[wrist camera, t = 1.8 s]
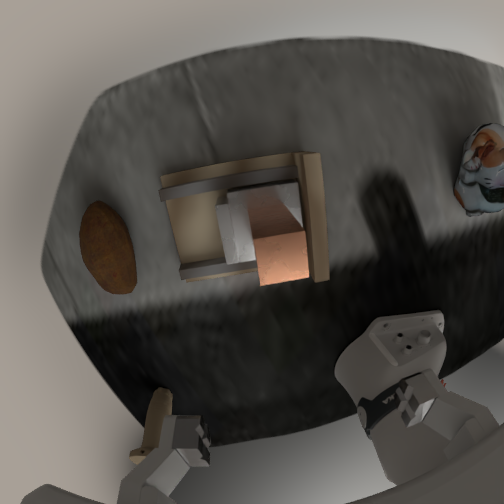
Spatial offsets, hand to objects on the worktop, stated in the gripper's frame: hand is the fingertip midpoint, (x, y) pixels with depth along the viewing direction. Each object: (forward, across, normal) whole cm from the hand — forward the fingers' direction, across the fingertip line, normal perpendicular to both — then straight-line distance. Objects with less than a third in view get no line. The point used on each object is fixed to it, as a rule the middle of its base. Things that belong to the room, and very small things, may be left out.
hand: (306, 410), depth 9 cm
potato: (+25, +18, -1) cm, 30 cm away
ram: (+23, 0, -1) cm, 23 cm away
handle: (+25, +19, +28) cm, 42 cm away
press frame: (+24, +2, -1) cm, 25 cm away
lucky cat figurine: (+25, -34, -6) cm, 42 cm away
